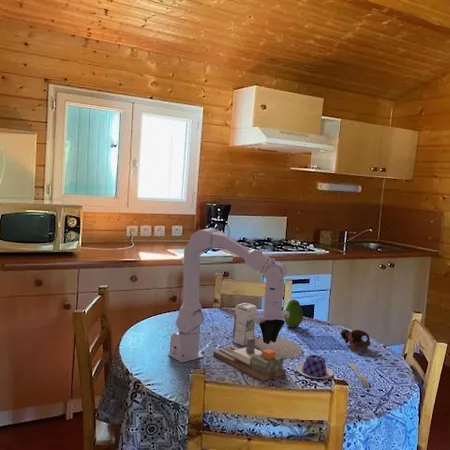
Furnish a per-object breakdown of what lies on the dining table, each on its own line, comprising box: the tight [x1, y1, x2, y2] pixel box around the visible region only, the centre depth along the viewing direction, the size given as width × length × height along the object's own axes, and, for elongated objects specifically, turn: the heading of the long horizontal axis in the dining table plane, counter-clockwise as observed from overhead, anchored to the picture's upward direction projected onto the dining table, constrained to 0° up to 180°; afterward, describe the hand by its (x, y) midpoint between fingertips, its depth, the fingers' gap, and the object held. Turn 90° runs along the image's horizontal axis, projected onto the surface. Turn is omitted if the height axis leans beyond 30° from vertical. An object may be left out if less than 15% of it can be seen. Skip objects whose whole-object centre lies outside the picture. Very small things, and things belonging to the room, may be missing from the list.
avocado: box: [283, 298, 304, 328], centre depth 206 cm, size 8×8×12 cm
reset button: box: [261, 348, 276, 360], centre depth 156 cm, size 3×3×3 cm
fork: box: [346, 362, 370, 388], centre depth 161 cm, size 3×21×3 cm, turn 179°
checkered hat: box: [295, 354, 334, 380], centre depth 161 cm, size 12×12×5 cm
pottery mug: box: [340, 328, 372, 352], centre depth 187 cm, size 12×10×8 cm
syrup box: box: [231, 302, 258, 347], centre depth 182 cm, size 6×6×14 cm
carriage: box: [233, 337, 262, 365], centre depth 162 cm, size 8×8×7 cm
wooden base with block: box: [212, 345, 286, 382], centre depth 162 cm, size 10×24×6 cm, turn 42°
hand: (269, 342), depth 155 cm, fingers open, 2 cm apart
